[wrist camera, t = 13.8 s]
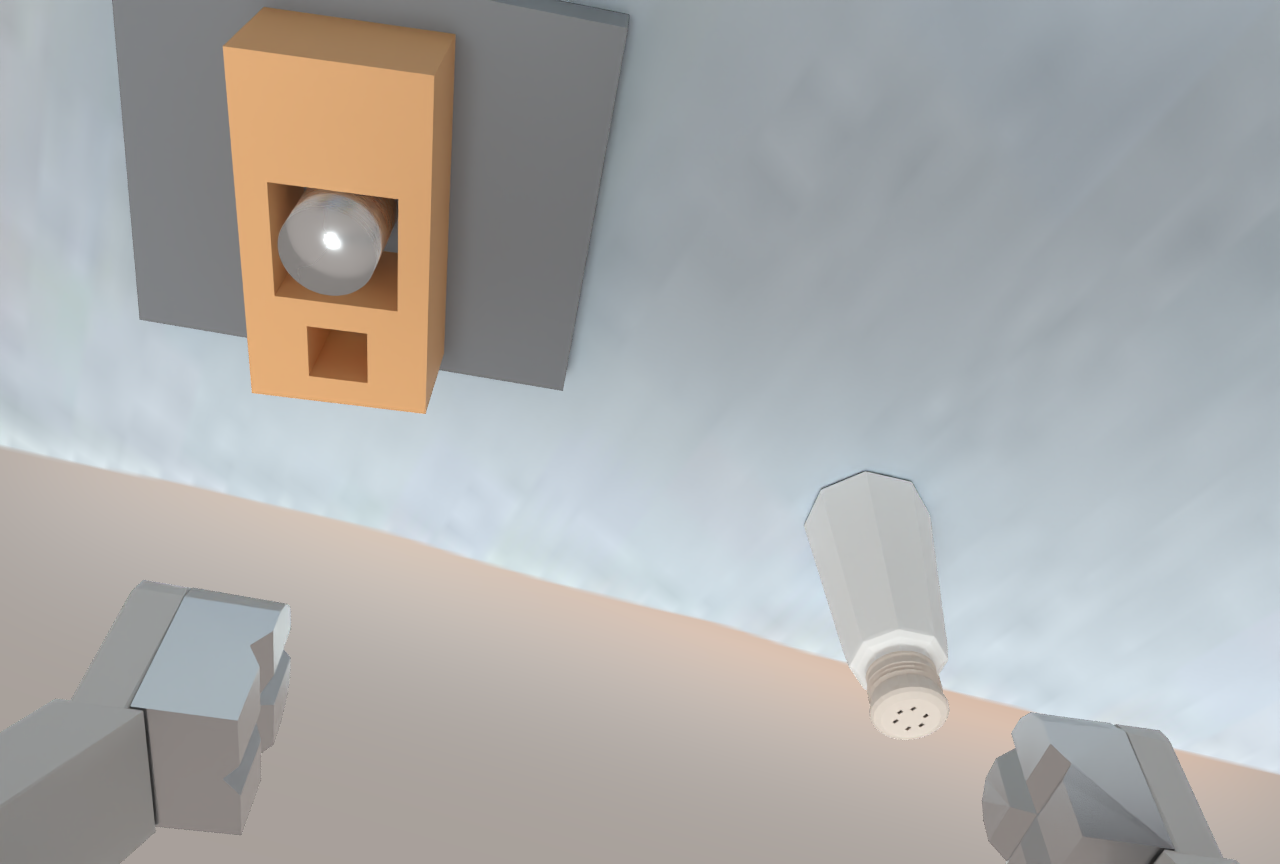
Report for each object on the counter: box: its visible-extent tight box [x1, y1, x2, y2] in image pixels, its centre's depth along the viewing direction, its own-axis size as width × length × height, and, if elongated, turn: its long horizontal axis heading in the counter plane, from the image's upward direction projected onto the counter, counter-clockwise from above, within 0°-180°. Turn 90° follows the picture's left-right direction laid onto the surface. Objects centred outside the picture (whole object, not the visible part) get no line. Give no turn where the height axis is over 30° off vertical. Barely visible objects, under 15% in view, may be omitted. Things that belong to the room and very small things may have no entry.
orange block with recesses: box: [223, 7, 456, 414], centre depth 37 cm, size 12×6×4 cm, turn 172°
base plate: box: [112, 0, 629, 391], centre depth 39 cm, size 16×14×2 cm
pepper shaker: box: [804, 471, 949, 740], centre depth 44 cm, size 5×5×11 cm
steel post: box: [278, 187, 398, 296], centre depth 37 cm, size 3×3×6 cm
